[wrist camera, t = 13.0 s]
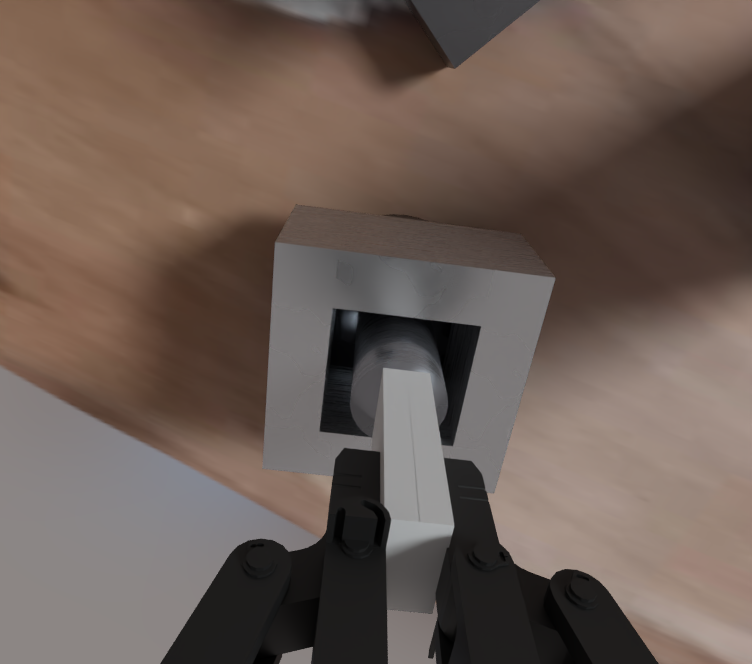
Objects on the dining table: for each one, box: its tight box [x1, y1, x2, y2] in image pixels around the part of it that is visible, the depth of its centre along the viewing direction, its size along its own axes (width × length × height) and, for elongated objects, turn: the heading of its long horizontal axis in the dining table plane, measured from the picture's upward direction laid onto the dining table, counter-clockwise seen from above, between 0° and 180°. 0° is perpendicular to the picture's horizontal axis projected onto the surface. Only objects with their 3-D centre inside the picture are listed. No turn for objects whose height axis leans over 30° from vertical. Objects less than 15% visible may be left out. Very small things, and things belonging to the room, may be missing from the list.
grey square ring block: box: [262, 204, 555, 493], centre depth 22 cm, size 9×9×5 cm
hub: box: [330, 215, 452, 438], centre depth 23 cm, size 8×8×9 cm
